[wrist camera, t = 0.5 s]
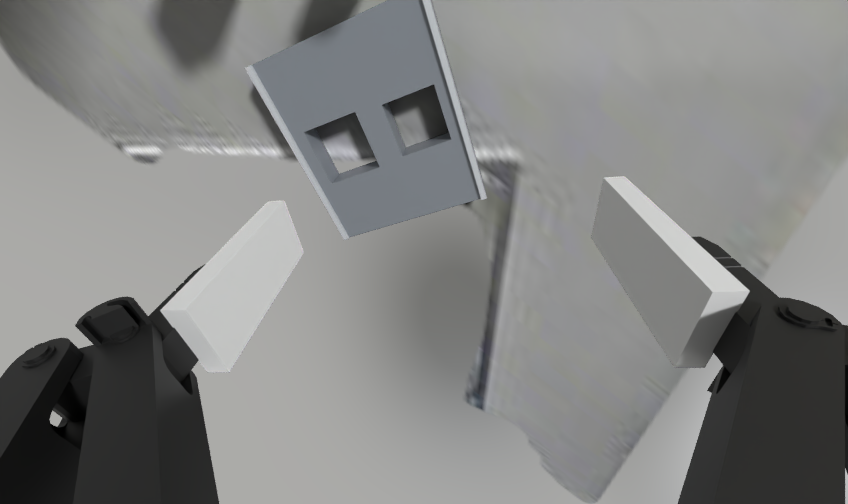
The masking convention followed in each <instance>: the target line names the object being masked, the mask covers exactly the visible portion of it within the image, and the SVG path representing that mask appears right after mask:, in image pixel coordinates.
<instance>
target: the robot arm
mask: <svg viewBox="0 0 848 504" xmlns="http://www.w3.org/2000/svg"><path fill="white" fill-rule="evenodd" d="M591 238H592V240H593V241H594V243H595V244H596V246H597V248H598V249H599V251H600V252H601V254H602V255H603V257H604V259H605V260H606V262H607V263H608V265H609V266H610V268H611V269H612V271H613V273H614V274H615V276H616V277H617V279H618V280H619V282H620V284H621V285H622V287H623V288H624V290H625V291H626V293H627V295H628V296H629V298H630V299H631V301H632V302H633V304H634V306H635V307H636V309H637V310H638V312H639V313H640V315H641V316H642V318H643V320H644V321H645V323H646V324H647V326H648V327H649V329H650V331H651V332H652V334H653V335H654V337H655V338H656V340H657V342H658V343H659V345H660V346H661V348H662V349H663V351H664V353H665V354H666V356H667V357H668V359H669V360H670V362H671V364H672V365H673V367H674V368H701V367H703V368H704V367H705V366H706V364H707V363H708V361H709V359H710V358H711V356H712V354H713V353H714V354H715V355H716V356H717V357H718V359H719V360H720V361H721V363H723V367H722V368H721V370H720V371H719V373H718V375H717V376H716V377H715V379H714V381H713V382H712V384H711V386H710V387H709V388H708V390H707V391H710V392H711V393H712V395H711V398H710V401H709V404H708V408H707V411H706V414H705V417H704V420H703V424H702V427H701V430H700V433H699V437H698V440H697V443H696V447H695V450H694V453H693V456H692V459H691V463H690V466H689V469H688V472H687V475H686V479H685V482H684V485H683V488H682V491H681V495H680V498H679V501H678V504H845V468H846V470H847V473H848V326H846V325H842V324H841V323H840V322H839V321H838V320H837V319H836V318H835V317H834V316H833V315H831V314H829V313H828V312H826V311H824V310H823V309H821V308H819V307H817V306H814V305H811V304H809V303H806V302H804V301H799V300H795V299H790V298H779V297H778V296H777V295H776V294H774V293H773V292H772V291H771V290H770V289H768V288H767V287H766V286H765V285H764V284H763V283H762V282H760V281H759V280H758V279H757V278H756V277H755V276H753V275H752V274H751V273H750V272H749V271H748V270H746V269H745V268H744V267H741V265H740V264H739V263H738V262H737V261H736V260H735V259H733V258H731V256H730V255H729V254H728V253H726V252H725V251H724V250H723V249H722V248H721V247H719V246H718V245H716V244H714V243H712V242H710V241H708V240H706V239H704V238H702V237H690V236H689V235H688V234H687V233H686V232H685V231H684V230H683V229H682V228H681V227H679V226H678V225H677V224H676V223H675V222H674V221H673V220H672V219H671V218H670V217H669V216H667V215H666V214H665V213H664V212H663V211H662V210H661V209H660V208H659V207H658V206H656V205H655V204H654V203H653V202H652V201H651V200H650V199H649V198H648V197H647V196H646V195H644V194H643V193H642V192H641V191H640V190H639V189H638V188H637V187H636V186H635V185H634V184H632V183H631V182H630V181H629V180H628V179H627V178H626V177H625V176H620V177H606V178H603V183H602V188H601V192H600V197H599V202H598V207H597V211H596V216H595V221H594V226H593V231H592V235H591ZM303 253H304V251H303V249H302V246H301V243H300V240H299V238H298V235H297V232H296V230H295V227H294V225H293V222H292V219H291V217H290V214H289V211H288V208H287V206H286V203H285V201H284V200H281V201H268V202H267V203H266V204H265V205H264V206H263V207H262V208H261V209H260V210H259V211H258V212H257V213H256V214H255V215H254V216H253V217H252V218H251V219H250V220H249V221H248V222H247V223H246V224H245V225H244V226H243V227H242V228H241V229H240V230H239V231H238V232H237V233H236V234H235V235H234V236H233V237H232V238H231V239H230V240H229V241H228V242H227V243H226V244H225V245H224V246H223V247H222V248H221V249H220V250H219V251H218V252H217V253H216V255H214V256H213V257H212V258H211V259H210V260H209V261H208V262H207V263H206V264H205V265H203V266H202V267H200V268H198V269H197V270H195V271H194V272H193V273H192V274H191V275H190V276H189V277H188V278H187V279H186V280H185V281H184V283H182V284H181V285H180V286H179V287H178V288H177V289H176V291H174V292H173V293H172V294H171V295H170V296H169V297H168V298H167V299H166V300H165V301H163V302H162V303H161V305H159V306H158V307H157V308H156V309H155V311H153V312H152V313H151V314H150V315H149V316H147V315H146V313H145V312H144V311H143V310H142V309H141V307H140V306H139V305H138V303H137V302H136V301H135V300H134V298H131V297H120V298H116V299H113V300H109V301H107V302H105V303H102V304H100V305H98V306H96V307H95V308H93V309H91V310H90V311H88V312H87V313H86V314H85V315H83V316H82V317H81V318H80V319H79V320H78V322H77V324H76V325H75V326H76V327H77V328H78V329H79V330H80V331H81V332H82V333H83V334H84V335H85V336H86V337H87V338H88V339H89V340H90V341H91V342H92V343H93V344H94V345H91V346H87V347H83V348H80V349H78V348H77V347H76V346H75V345H74V344H73V343H72V342H71V341H70V340H69V339H66V338H58V339H53V340H50V341H47V342H45V343H41V344H38V345H36V346H35V347H34V348H31V349H29V350H27V351H26V352H25V353H24V354H23V355H21V356H20V357H19V358H17V359H16V360H15V361H14V362H13V363H12V364H11V365H10V366H9V368H8V369H7V370H6V371H5V373H4V374H3V375H2V377H1V378H0V504H219V501H218V495H217V489H216V484H215V478H214V472H213V467H212V461H211V456H210V450H209V445H208V439H207V434H206V428H205V422H204V417H203V411H202V406H201V400H200V394H199V389H198V383H197V378H196V376H195V374H194V373H193V372H192V371H191V370H192V368H193V366H195V364H196V363H197V361H199V362H200V364H201V365H202V366H203V367H204V369H205V370H206V371H207V372H230V371H231V369H232V367H233V366H234V364H235V363H236V361H237V359H238V358H239V356H240V354H241V353H242V351H243V350H244V348H245V346H246V345H247V343H248V342H249V340H250V338H251V337H252V335H253V334H254V332H255V330H256V329H257V327H258V326H259V324H260V322H261V321H262V319H263V317H264V316H265V314H266V313H267V311H268V309H269V308H270V306H271V304H272V303H273V301H274V300H275V298H276V297H277V294H278V293H279V291H280V290H281V289H282V287H283V285H284V284H285V282H286V280H287V279H288V277H289V276H290V274H291V272H292V271H293V269H294V267H295V266H296V264H297V263H298V261H299V260H300V258H301V256H302V255H303ZM52 410H53V411H54V412H56V413H57V414H58V415H60V416H61V417H62V420H61V422H60V424H59V426H58V427H56V426H53V425H52V424H50V420H49V419H50V415H51V412H52Z"/></svg>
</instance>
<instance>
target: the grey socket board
mask: <svg viewBox="0 0 848 504" xmlns="http://www.w3.org/2000/svg"><path fill="white" fill-rule="evenodd" d="M245 70H246V71H247V73H248V75H249V76H250V78H251V80H252V82H253V83H254V85H255V87H256V89H257V90H258V92H259V94H260V96H261V97H262V99H263V101H264V102H265V104H266V106H267V108H268V109H269V111H270V113H271V115H272V116H273V118H274V120H275V121H276V123H277V125H278V127H279V128H280V130H281V132H282V134H283V135H284V137H285V139H286V140H287V142H288V144H289V146H290V147H291V149H292V151H293V153H294V154H295V156H296V158H297V160H298V161H299V163H300V165H301V166H302V168H303V170H304V172H305V173H306V175H307V177H308V179H309V180H310V182H311V184H312V185H313V187H314V189H315V191H316V192H317V194H318V196H319V198H320V199H321V201H322V203H323V204H324V206H325V208H326V210H327V211H328V213H329V215H330V217H331V218H332V220H333V222H334V223H335V225H336V227H337V229H338V230H339V232H340V234H341V236H342V237H343V239H344V240H347V239H349V237H351V236H355V235H358V234H362V233H366V232H369V231H372V230H376V229H379V228H382V227H386V226H389V225H393V224H396V223H400V222H403V221H406V220H410V219H413V218H416V217H420V216H423V215H427V214H430V213H433V212H437V211H440V210H444V209H447V208H450V207H454V206H457V205H461V204H464V203H467V202H471V201H474V200H478V199H481V200H483V199H487V197H486V192H485V187H484V183H483V180H482V176H481V173H480V169H479V166H478V162H477V158H476V155H475V151H474V148H473V144H472V141H471V137H470V134H469V130H468V127H467V123H466V120H465V116H464V113H463V109H462V106H461V102H460V99H459V95H458V92H457V88H456V85H455V81H454V78H453V74H452V70H451V67H450V63H449V60H448V56H447V53H446V49H445V46H444V42H443V39H442V35H441V32H440V28H439V25H438V21H437V18H436V14H435V11H434V7H433V4H432V0H387V1H385V2H383V3H381V4H379V5H377V6H375V7H372V8H370V9H368V10H366V11H364V12H362V13H360V14H358V15H356V16H354V17H352V18H349V19H347V20H345V21H343V22H341V23H339V24H337V25H335V26H333V27H331V28H329V29H326V30H324V31H322V32H320V33H318V34H316V35H314V36H312V37H310V38H308V39H306V40H303V41H301V42H299V43H297V44H295V45H293V46H291V47H289V48H287V49H285V50H282V51H280V52H278V53H276V54H274V55H272V56H270V57H268V58H266V59H264V60H262V61H259V62H257V63H255V64H253V65H250V66H248V67H246V68H245ZM433 84H434V86H435V89H436V93H437V96H438V99H439V102H440V105H441V108H442V112H443V115H444V118H445V121H446V124H447V127H448V131H449V133H446V134H443V135H440V136H438V137H435V138H432V139H429V140H426V141H423V142H421V143H418V144H415V145H412V146H409V147H407V148H406V147H405V145H404V142H403V140H402V137H401V134H400V132H399V129H398V127H397V124H396V122H395V119H394V117H393V114H392V112H391V109H390V106H389V104H388V102H390V101H393V100H395V99H398V98H400V97H403V96H405V95H408V94H411V93H413V92H416V91H418V90H421V89H423V88H426V87H428V86H431V85H433ZM353 112H355V113H356V115H357V118H358V120H359V122H360V124H361V126H362V129H363V131H364V133H365V135H366V138H367V140H368V142H369V144H370V147H371V149H372V151H373V153H374V155H375V158H376V160H377V161H375V162H372V163H369V164H366V165H363V166H360V167H358V168H355V169H352V170H349V171H346V172H344V173H340V174H339V173H338V171H337V169H336V167H335V165H334V163H333V161H332V159H331V157H330V156H329V154H328V152H327V150H326V148H325V146H324V144H323V142H322V140H321V138H320V136H319V134H318V133H317V131H316V129H315V128H316V127H318V126H321V125H323V124H326V123H328V122H331V121H333V120H336V119H338V118H341V117H343V116H346V115H348V114H351V113H353Z"/></svg>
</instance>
